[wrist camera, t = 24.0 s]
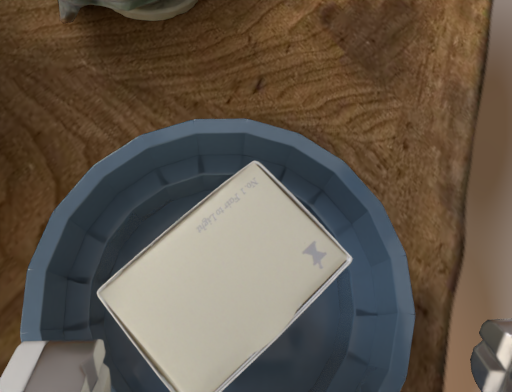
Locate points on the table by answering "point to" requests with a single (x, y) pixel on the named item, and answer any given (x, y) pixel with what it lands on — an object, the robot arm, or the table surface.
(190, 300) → the cosmetic box
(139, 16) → the figurine
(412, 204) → the table surface
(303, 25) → the table surface
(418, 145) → the table surface
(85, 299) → the glazed bowl
